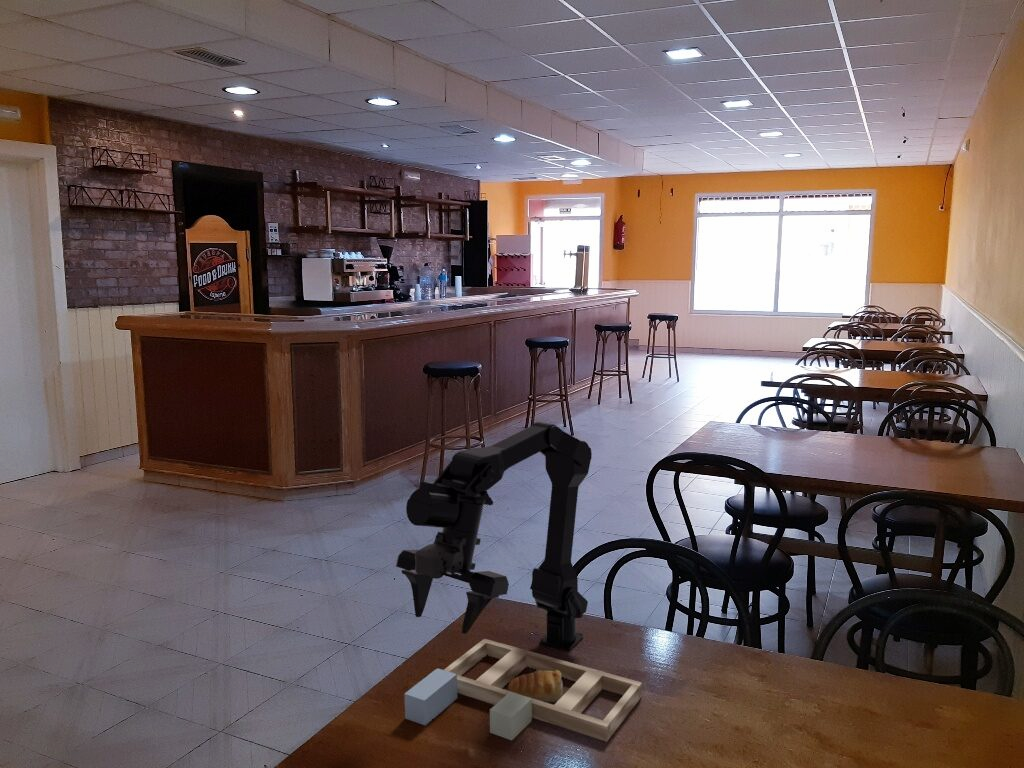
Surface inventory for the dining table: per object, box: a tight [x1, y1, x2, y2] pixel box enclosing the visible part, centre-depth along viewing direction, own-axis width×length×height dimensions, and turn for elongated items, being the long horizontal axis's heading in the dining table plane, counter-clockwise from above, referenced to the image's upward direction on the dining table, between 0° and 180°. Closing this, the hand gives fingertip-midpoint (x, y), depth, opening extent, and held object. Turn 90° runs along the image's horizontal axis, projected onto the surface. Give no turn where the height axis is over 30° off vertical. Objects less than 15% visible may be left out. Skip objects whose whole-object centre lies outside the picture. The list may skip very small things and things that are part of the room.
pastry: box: [507, 670, 564, 703], centre depth 133 cm, size 9×7×4 cm
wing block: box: [403, 668, 458, 726], centre depth 128 cm, size 9×4×4 cm, turn 150°
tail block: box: [489, 692, 533, 741], centre depth 123 cm, size 6×4×4 cm, turn 148°
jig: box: [443, 638, 643, 743], centre depth 133 cm, size 14×31×2 cm, turn 59°
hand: (440, 625), depth 126 cm, fingers open, 9 cm apart
